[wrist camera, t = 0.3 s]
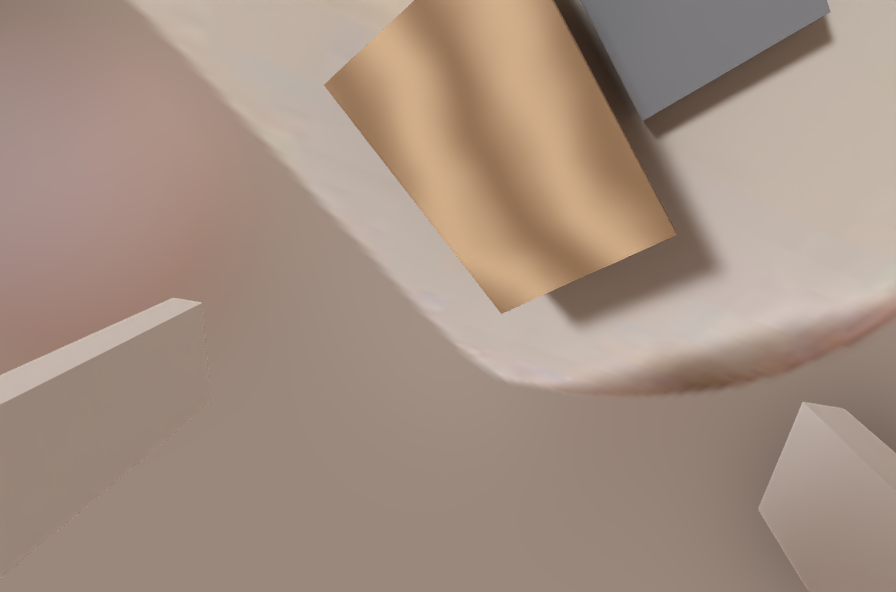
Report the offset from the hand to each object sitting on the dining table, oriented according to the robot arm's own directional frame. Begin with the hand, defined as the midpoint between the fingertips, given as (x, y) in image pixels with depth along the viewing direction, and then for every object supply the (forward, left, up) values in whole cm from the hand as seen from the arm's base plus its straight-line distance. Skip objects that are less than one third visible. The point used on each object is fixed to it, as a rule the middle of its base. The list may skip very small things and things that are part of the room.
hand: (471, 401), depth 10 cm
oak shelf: (+2, 0, -27) cm, 27 cm away
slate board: (-10, 0, -27) cm, 29 cm away
